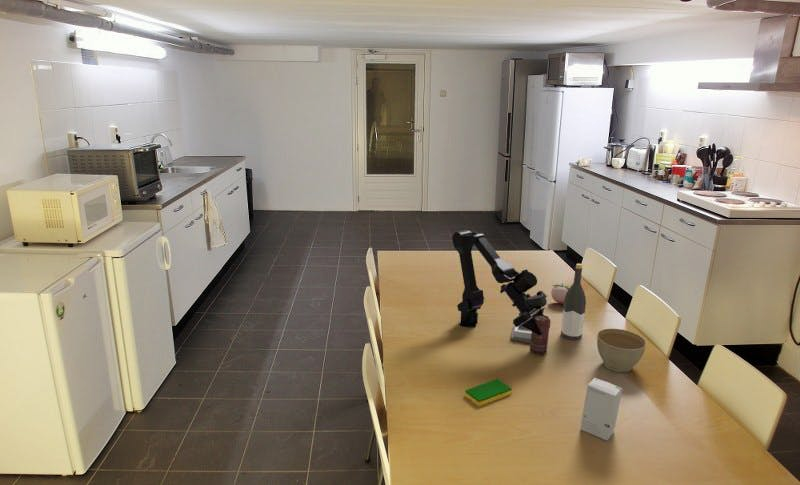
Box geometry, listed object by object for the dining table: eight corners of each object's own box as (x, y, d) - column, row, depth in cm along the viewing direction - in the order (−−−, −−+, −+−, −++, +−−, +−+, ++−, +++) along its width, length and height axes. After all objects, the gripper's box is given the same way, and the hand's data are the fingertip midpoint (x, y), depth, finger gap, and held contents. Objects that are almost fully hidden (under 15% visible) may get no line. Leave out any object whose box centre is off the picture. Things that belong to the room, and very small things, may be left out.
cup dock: (510, 339, 210) (511, 331, 209) (514, 326, 222) (515, 318, 221) (545, 344, 206) (545, 336, 205) (546, 330, 218) (547, 322, 217)
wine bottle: (583, 333, 216) (591, 262, 207) (580, 341, 209) (589, 269, 200) (562, 329, 219) (569, 259, 211) (559, 337, 212) (566, 265, 204)
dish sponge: (511, 394, 173) (512, 388, 173) (478, 407, 166) (479, 400, 166) (497, 384, 179) (497, 378, 178) (464, 396, 172) (464, 390, 171)
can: (547, 356, 197) (551, 321, 193) (529, 354, 198) (533, 320, 194) (547, 349, 203) (550, 315, 198) (529, 347, 204) (532, 313, 200)
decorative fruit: (548, 305, 243) (550, 285, 240) (551, 299, 250) (553, 279, 247) (570, 309, 239) (572, 288, 236) (572, 302, 247) (574, 282, 244)
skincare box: (579, 430, 155) (585, 384, 151) (587, 420, 160) (593, 376, 155) (608, 442, 150) (615, 395, 146) (616, 432, 155) (623, 386, 150)
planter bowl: (620, 382, 181) (624, 353, 178) (583, 361, 194) (587, 333, 191) (652, 371, 188) (657, 343, 185) (615, 351, 201) (619, 325, 198)
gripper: (523, 293, 188) (551, 331, 185) (543, 278, 202) (569, 313, 200) (501, 308, 195) (527, 345, 192) (522, 293, 209) (547, 326, 206)
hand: (543, 331), depth 197 cm, fingers open, 6 cm apart
